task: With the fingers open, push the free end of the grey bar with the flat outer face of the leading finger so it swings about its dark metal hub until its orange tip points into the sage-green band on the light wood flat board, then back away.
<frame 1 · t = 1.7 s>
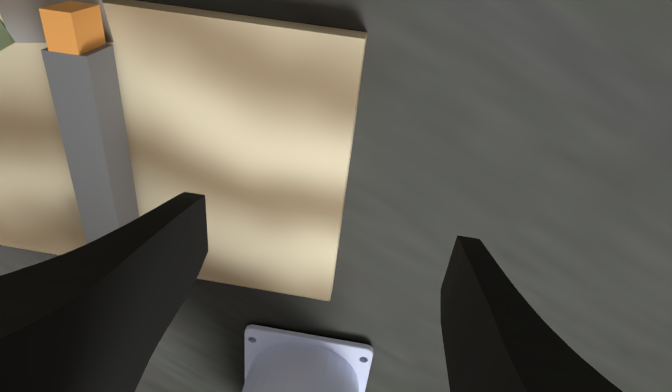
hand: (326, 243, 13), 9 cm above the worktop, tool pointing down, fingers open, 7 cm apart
grey bar: (97, 182, 21), point 3 cm above the worktop, hinge at 0.0°
light wood flat board: (130, 146, 23), on the worktop
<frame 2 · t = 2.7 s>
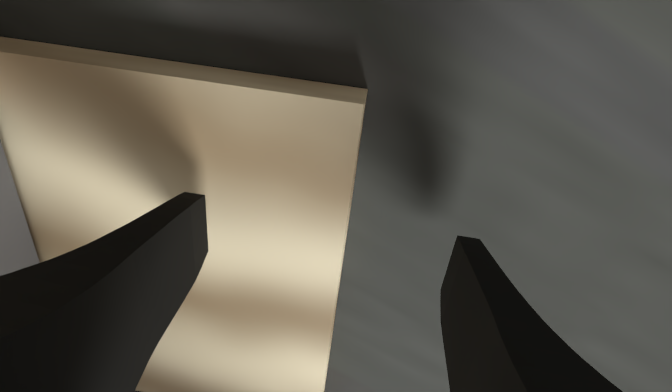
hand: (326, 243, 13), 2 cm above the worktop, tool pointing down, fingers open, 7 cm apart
light wood flat board: (45, 230, 17), on the worktop
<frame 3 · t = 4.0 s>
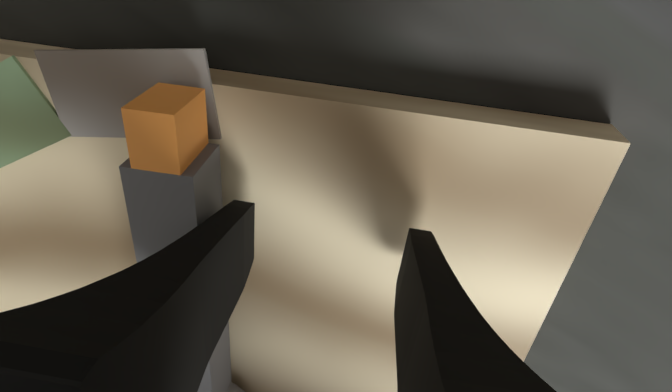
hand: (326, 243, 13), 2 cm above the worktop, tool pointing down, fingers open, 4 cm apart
grey bar: (185, 330, 14), point 3 cm above the worktop, hinge at 0.6°, touching gripper
light wood flat board: (219, 260, 16), on the worktop
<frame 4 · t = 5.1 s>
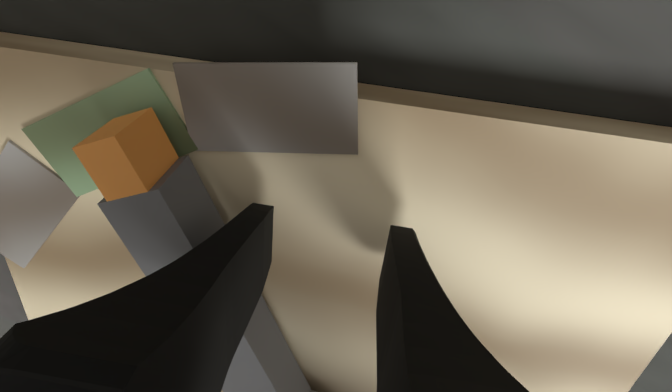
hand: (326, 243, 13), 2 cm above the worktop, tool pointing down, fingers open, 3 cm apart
grey bar: (232, 345, 14), point 3 cm above the worktop, hinge at 23.9°, touching gripper
light wood flat board: (321, 273, 16), on the worktop
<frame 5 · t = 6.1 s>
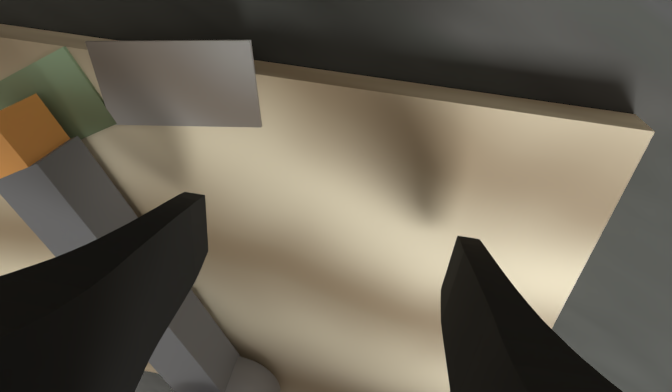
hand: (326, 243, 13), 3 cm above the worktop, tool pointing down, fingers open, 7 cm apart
grey bar: (145, 312, 15), point 3 cm above the worktop, hinge at 28.9°
light wood flat board: (249, 246, 17), on the worktop
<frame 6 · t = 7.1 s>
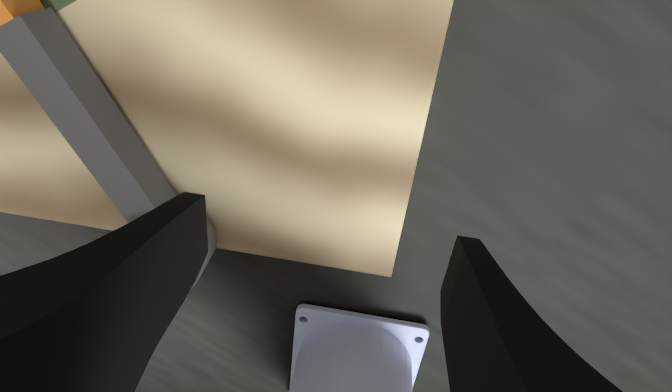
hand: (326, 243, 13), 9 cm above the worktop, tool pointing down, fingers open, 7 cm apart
grey bar: (104, 152, 20), point 3 cm above the worktop, hinge at 29.0°
light wood flat board: (189, 114, 22), on the worktop
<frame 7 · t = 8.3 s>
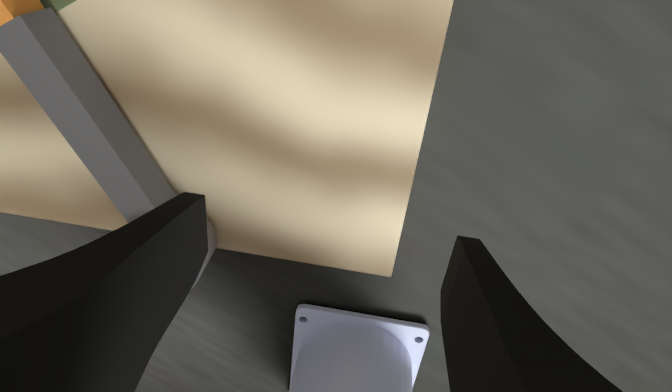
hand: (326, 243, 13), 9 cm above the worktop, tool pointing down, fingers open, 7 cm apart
grey bar: (104, 152, 20), point 3 cm above the worktop, hinge at 29.0°
light wood flat board: (189, 114, 22), on the worktop
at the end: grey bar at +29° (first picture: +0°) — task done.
